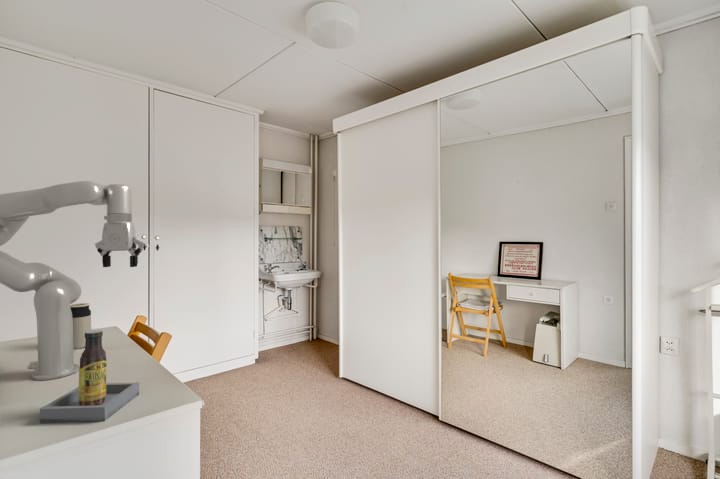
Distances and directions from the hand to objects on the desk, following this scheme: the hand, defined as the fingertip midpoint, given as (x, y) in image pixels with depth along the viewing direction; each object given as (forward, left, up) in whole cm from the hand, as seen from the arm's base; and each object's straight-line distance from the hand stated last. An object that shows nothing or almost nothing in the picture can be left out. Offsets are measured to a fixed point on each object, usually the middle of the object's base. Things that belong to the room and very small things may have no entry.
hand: (120, 266), depth 135 cm
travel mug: (-33, +26, -36) cm, 56 cm away
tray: (+11, -33, -36) cm, 50 cm away
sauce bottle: (+11, -32, -35) cm, 49 cm away
